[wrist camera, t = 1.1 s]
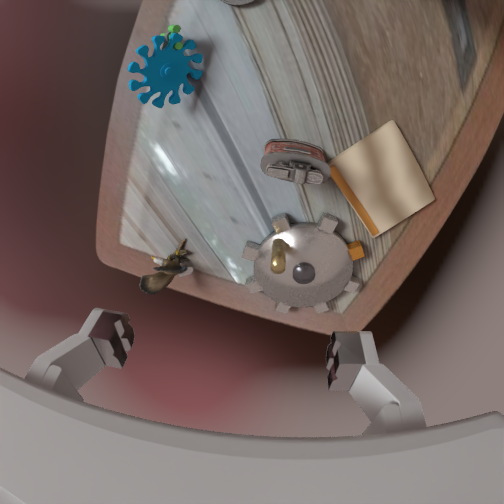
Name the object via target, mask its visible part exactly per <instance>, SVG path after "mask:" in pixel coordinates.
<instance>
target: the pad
mask: <svg viewBox="0 0 504 504" xmlns="http://www.w3.org/2000/svg"><path fill="white" fill-rule="evenodd" d="M327 163H328V165H329V167H330V170H331V175H330V177H331V178H332V180H333V181H334V182H335V184H336V185H337V186H338V188H339V189H340V191H341V192H342V194H343V195H344V196H345V198H346V199H347V201H348V202H349V204H350V205H351V206H352V208H353V209H354V211H355V212H356V214H357V215H358V217H359V218H360V220H361V221H362V223H363V224H364V226H365V227H366V229H367V230H368V232H369V233H370V235H371V236H372V238H375V237H376V236H378V235H380V234H381V233H383V232H385V231H386V230H388V229H389V228H391V227H393V226H394V225H396V224H398V223H399V222H401V221H402V220H404V219H405V218H407V217H409V216H410V215H412V214H413V213H415V212H416V211H418V210H420V209H421V208H423V207H424V206H426V205H427V204H429V203H430V202H432V201H433V200H435V198H434V196H433V193H432V191H431V189H430V187H429V185H428V183H427V181H426V179H425V176H424V174H423V172H422V170H421V168H420V166H419V165H418V163H417V161H416V159H415V157H414V155H413V153H412V151H411V149H410V148H409V146H408V144H407V142H406V140H405V139H404V137H403V135H402V133H401V132H400V130H399V128H398V127H397V125H396V123H395V122H394V121H393V120H391V121H389V122H388V123H386V124H385V125H383V126H382V127H380V128H378V129H377V130H375V131H374V132H372V133H371V134H369V135H368V136H366V137H365V138H363V139H362V140H360V141H359V142H357V143H356V144H354V145H353V146H351V147H350V148H348V149H347V150H345V151H344V152H342V153H341V154H339V155H338V156H336V157H335V158H333V159H332V160H330V161H329V162H327Z"/></svg>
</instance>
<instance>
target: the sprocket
mask: <svg viewBox="0 0 504 504" xmlns="http://www.w3.org/2000/svg"><path fill="white" fill-rule="evenodd" d="M271 224H272V225H273V227H274V229H275V231H273V232H272V233H271V234H269V235H268V236H267V237H266V238H265V239H264V240H263V241H262V243H261V244H260V245H258V244H255V243H252V242H249V241H247V243H246V246H245V248H244V251H243V255H242V258H245V259H248V260H251V261H254V277H251V278H248V279H246V283H245V286H246V287H247V289H248V290H249V292H250V293H251V294H253V293H256V292H259V291H263V292H264V293H265V294H266V295H267V296H268V297H270V298H271V299H273V300H274V301H276V304H275V311H278V312H281V313H285V314H287V312H288V310H289V309H290V307H291V306H292V307H312V306H314V308H315V310H316V312H317V314H318V313H321V312H325V311H328V310H329V306H328V301H330V300H332V299H333V298H335V297H336V296H337V295H339V294H340V293H341V292H342V291H343V290H345V291H348V292H351V293H354V292H355V291H356V289H357V288H358V286H359V285H360V282H359V278H357V277H354V276H352V272H353V260H356V259H359V258H362V257H365V256H364V252H363V249H362V246H361V243H360V241H359V240H358V241H355V242H352V243H349V244H347V243H346V242H345V240H344V239H343V238H342V237H341V236H340V235H339V234H338V233H337V232H335V231H334V229H335V227H336V226H337V224H338V221H337V217H334V216H332V215H329V214H326V213H324V212H323V214H322V216H321V218H320V220H319V222H318V224H316V223H307V222H303V223H294V224H291V223H290V221H289V219H288V217H287V215H286V213H283V214H281V215H278V216H275V217H273V218H272V221H271Z"/></svg>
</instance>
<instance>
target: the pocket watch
mask: <svg viewBox="0 0 504 504" xmlns="http://www.w3.org/2000/svg"><path fill="white" fill-rule="evenodd" d="M221 1H223V2H224V3H227V4H230V5H245V4H249V3H251V2H253V1H255V0H221Z"/></svg>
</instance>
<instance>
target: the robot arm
mask: <svg viewBox="0 0 504 504" xmlns="http://www.w3.org/2000/svg"><path fill="white" fill-rule="evenodd" d="M129 321H130V319H129V316H128V314H126V313H121V312H116V311H111V310H106V309H100V308H95V309H93V310H92V312H91V314H90V315H89V317H88V318H87V320H86V322H85V323H84V325H83V327H82V328H81V330H80V332H79V333H78V334H74V335H73V336H71V337H69V338H68V339H66V340H65V341H63V342H61V343H59V344H58V345H56V346H55V347H53V348H52V349H50V350H48V351H47V352H45V353H43V354H42V355H40V356H39V357H37V358H36V359H35V361H34V363H33V365H32V366H31V368H30V370H29V371H28V373H27V375H26V377H25V378H24V379H23V378H21V377H19V376H17V375H15V374H13V373H11V372H9V371H7V370H5V369H2V368H1V367H0V504H504V415H502V414H501V413H500V412H498V411H492V412H488V413H484V414H481V415H477V416H473V417H470V418H466V419H462V420H457V421H453V422H449V423H444V424H440V425H434V426H429V427H426V423H425V419H424V415H423V411H422V407H421V403H420V400H419V399H418V398H417V397H416V396H415V395H414V394H413V393H412V392H411V391H410V390H409V389H408V388H407V387H406V386H405V385H404V384H403V383H402V382H401V381H400V380H399V379H398V378H397V377H396V376H395V375H394V374H392V373H391V371H390V370H389V369H388V368H387V367H386V366H385V365H383V364H379V360H378V355H377V351H376V347H375V344H374V340H373V336H372V333H371V332H370V331H369V332H368V331H363V332H362V331H358V332H357V331H333V333H332V335H331V344H329V345H328V348H327V353H326V368H327V369H328V370H329V374H328V376H327V379H328V390H329V391H349V393H350V394H351V395H352V397H353V398H354V399H355V401H356V402H357V403H358V405H359V406H360V408H361V409H362V410H363V411H364V413H365V414H366V416H367V417H368V418H369V420H370V421H371V424H370V425H369V426H368V427H367V428H366V430H365V431H364V432H363V433H362V435H360V436H345V437H318V438H317V437H314V438H313V437H312V438H311V437H307V438H306V437H300V438H299V437H269V436H254V435H242V434H232V433H223V432H215V431H207V430H200V429H193V428H187V427H181V426H176V425H171V424H166V423H161V422H156V421H151V420H147V419H143V418H139V417H135V416H131V415H127V414H123V413H119V412H115V411H112V410H108V409H104V408H101V407H98V406H95V405H92V404H88V403H85V402H83V398H82V396H81V395H80V394H79V393H78V391H77V390H78V389H79V388H81V387H82V386H83V385H84V384H85V383H86V382H88V381H89V380H90V379H91V378H92V377H93V376H95V375H96V374H97V373H98V372H99V371H100V370H102V369H103V368H104V367H105V365H106V366H111V367H116V368H121V369H122V368H123V366H124V364H125V361H126V359H127V353H126V352H127V351H128V350H130V349H131V348H132V345H133V343H134V330H133V328H132V326H131V325H130V324H129Z"/></svg>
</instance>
